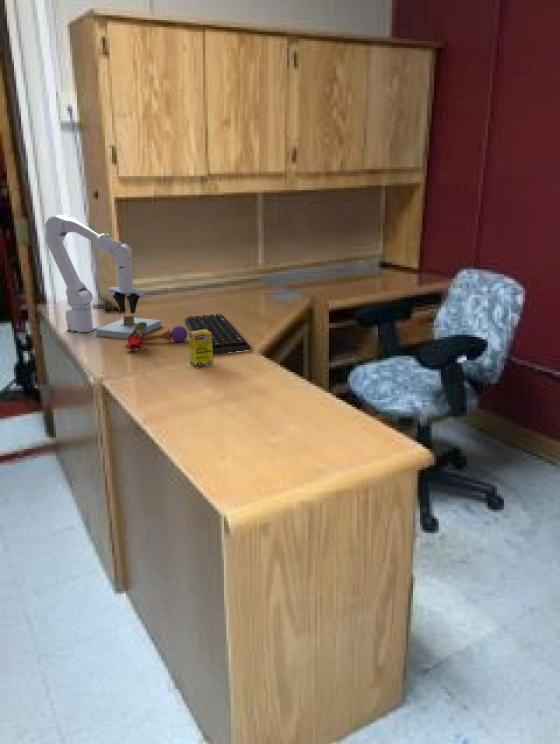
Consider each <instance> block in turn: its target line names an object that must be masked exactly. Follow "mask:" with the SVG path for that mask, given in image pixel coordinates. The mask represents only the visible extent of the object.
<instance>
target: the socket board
mask: <svg viewBox="0 0 560 744" xmlns="http://www.w3.org/2000/svg"><path fill="white" fill-rule="evenodd" d="M140 322H145V323H147V326H146V331H145V334H144V335H147V334H148V333H150V332H152V331H154V330H156V329H159V328H161V327H162V320H161V319H160V320H159V319H149V318H139V317H134V324H135V325H134V326H132V327H127V326H124V321H123V318H121V319H118V320H116V321H114V322H111V323H108V324H106V325H104V326H102V327H98V328H97V329H95V333H96V336H98V337H104V336H105V338H112V339H113V338H114V339H123V340H128V336H129V335H131V334H132V332H133V330H134V328H135V326H136V324H138V323H140Z"/></svg>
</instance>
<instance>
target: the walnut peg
mask: <svg viewBox="0 0 560 744" xmlns="http://www.w3.org/2000/svg"><path fill="white" fill-rule="evenodd" d="M134 318H135V316H134V315H133V314H125V315H123V316H122V319H123V321H124V326H127V327H132V326H134V325H135V324H134Z"/></svg>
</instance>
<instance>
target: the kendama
mask: <svg viewBox="0 0 560 744" xmlns="http://www.w3.org/2000/svg"><path fill="white" fill-rule="evenodd" d="M187 338H188V330H186V328H185V327H184V326H181V325H176V326H174V327H173V328H172V329H171V330H170V329H168V330H166V331H165V332H163V333H161V334H149V335H148V334H144V338H143V341H145V342H146V343H147V342H150V341H153V340H159V339H162V340H163V339H164V340H166V341H170V342H171V341H172V340H173V341H174V342H175V343H183V342H184V341H186V339H187Z"/></svg>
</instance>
